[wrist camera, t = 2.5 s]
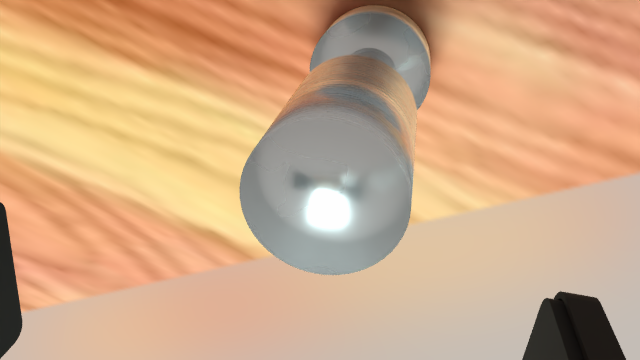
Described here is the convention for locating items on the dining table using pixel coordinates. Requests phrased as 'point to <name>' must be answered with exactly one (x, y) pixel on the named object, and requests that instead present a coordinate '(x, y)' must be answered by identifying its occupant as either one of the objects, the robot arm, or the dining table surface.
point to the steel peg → (342, 148)
